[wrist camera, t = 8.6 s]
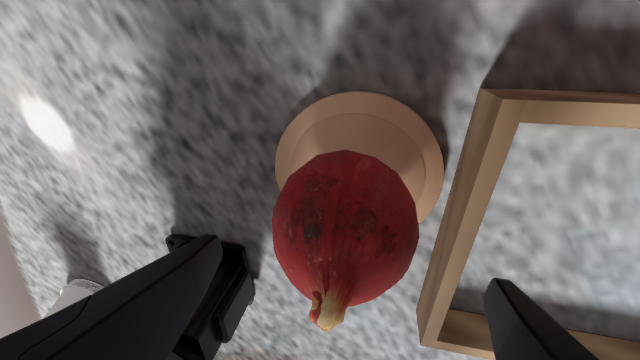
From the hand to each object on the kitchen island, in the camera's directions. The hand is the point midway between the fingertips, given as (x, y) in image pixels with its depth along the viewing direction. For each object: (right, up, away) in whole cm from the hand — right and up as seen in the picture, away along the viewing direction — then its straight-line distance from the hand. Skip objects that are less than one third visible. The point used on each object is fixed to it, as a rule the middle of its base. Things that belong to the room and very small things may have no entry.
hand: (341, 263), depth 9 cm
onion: (+1, +3, +5) cm, 6 cm away
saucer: (+1, +3, +6) cm, 7 cm away
